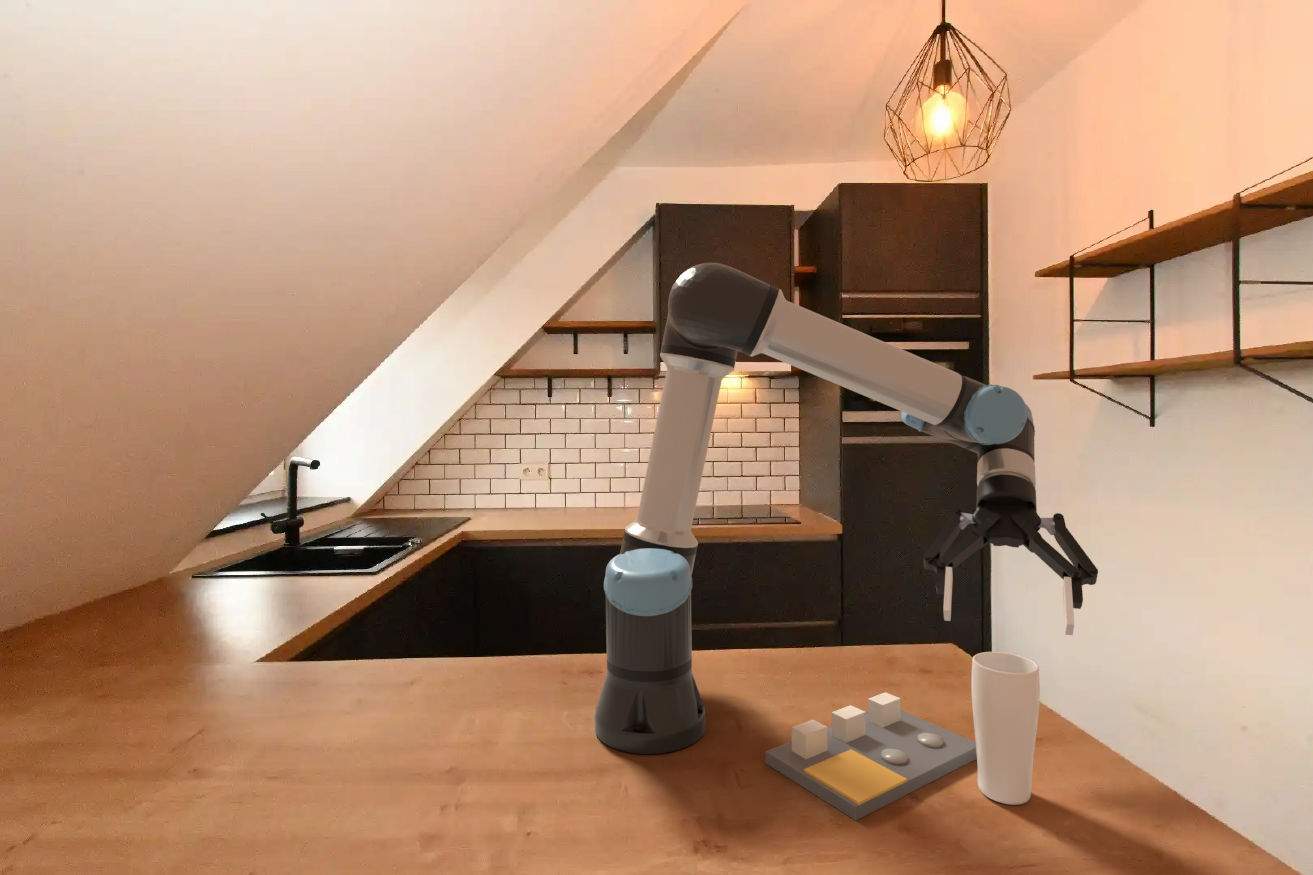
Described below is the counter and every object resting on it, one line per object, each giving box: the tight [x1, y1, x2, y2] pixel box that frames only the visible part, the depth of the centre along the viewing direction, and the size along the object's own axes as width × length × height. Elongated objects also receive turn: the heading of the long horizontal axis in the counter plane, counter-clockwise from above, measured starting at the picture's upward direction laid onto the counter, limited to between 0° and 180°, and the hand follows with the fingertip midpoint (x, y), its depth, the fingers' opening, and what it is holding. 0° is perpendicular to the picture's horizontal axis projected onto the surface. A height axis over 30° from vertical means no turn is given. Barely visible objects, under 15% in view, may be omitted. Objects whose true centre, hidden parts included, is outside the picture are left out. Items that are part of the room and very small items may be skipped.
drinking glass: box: [970, 651, 1041, 806], centre depth 76 cm, size 7×7×15 cm
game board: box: [764, 691, 977, 821], centre depth 84 cm, size 14×23×4 cm, turn 123°
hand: (1006, 622), depth 85 cm, fingers open, 13 cm apart
